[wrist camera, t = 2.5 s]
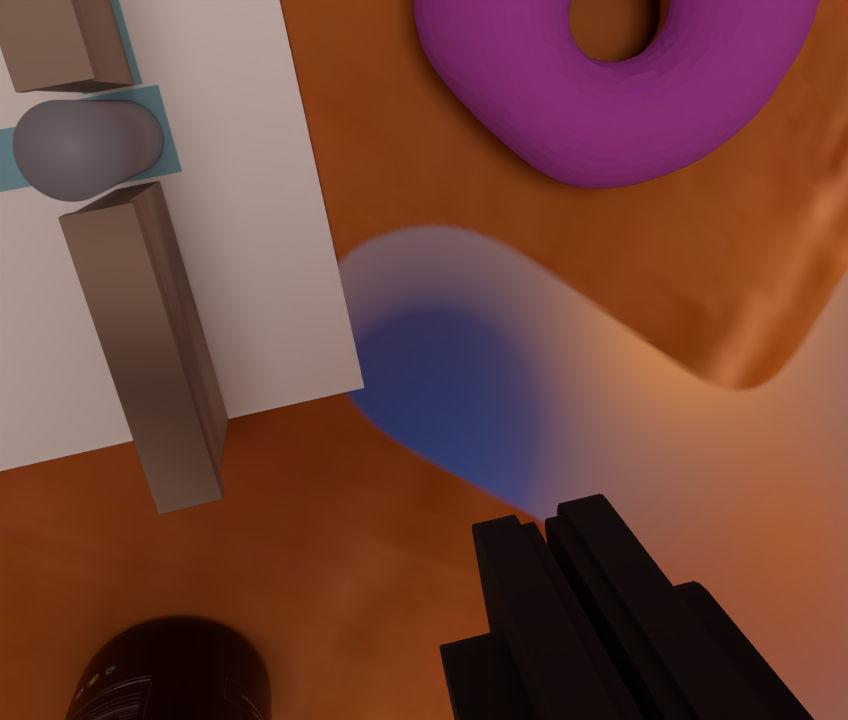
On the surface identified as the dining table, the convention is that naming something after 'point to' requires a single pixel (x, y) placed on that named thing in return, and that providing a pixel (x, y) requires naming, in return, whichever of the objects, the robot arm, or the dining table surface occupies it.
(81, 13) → the fence base
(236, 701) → the supplement bottle
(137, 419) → the fence panel
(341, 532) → the dining table surface
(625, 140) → the donut
